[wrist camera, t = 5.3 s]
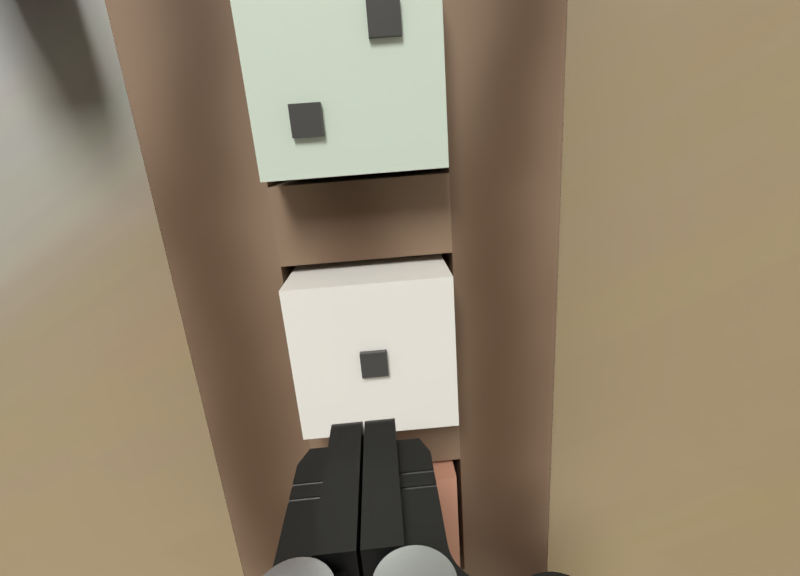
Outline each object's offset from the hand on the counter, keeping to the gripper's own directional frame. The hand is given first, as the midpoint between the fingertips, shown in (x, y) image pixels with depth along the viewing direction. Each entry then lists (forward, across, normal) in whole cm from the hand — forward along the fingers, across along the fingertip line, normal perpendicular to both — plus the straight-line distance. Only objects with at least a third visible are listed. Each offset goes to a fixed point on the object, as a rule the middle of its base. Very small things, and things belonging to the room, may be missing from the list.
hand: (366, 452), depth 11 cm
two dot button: (+8, 0, -9) cm, 12 cm away
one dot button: (+8, 0, 0) cm, 8 cm away
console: (+12, 0, 0) cm, 12 cm away
